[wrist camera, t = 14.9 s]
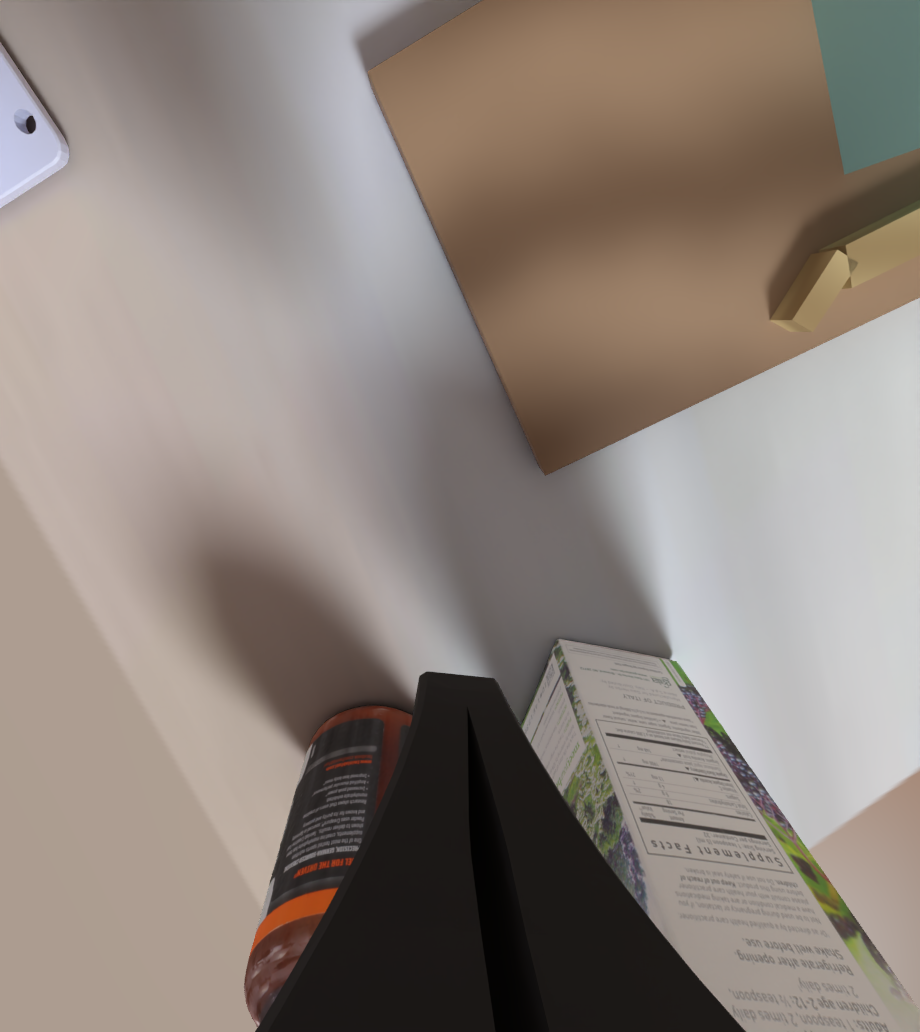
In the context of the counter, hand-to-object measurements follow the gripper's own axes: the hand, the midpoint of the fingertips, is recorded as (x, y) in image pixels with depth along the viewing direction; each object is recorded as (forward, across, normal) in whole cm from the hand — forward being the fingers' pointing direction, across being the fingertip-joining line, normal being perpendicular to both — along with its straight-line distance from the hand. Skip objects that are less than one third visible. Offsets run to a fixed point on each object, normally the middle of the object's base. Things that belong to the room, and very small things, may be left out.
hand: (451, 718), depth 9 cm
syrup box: (+10, -8, +8) cm, 15 cm away
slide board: (+10, -7, -12) cm, 17 cm away
